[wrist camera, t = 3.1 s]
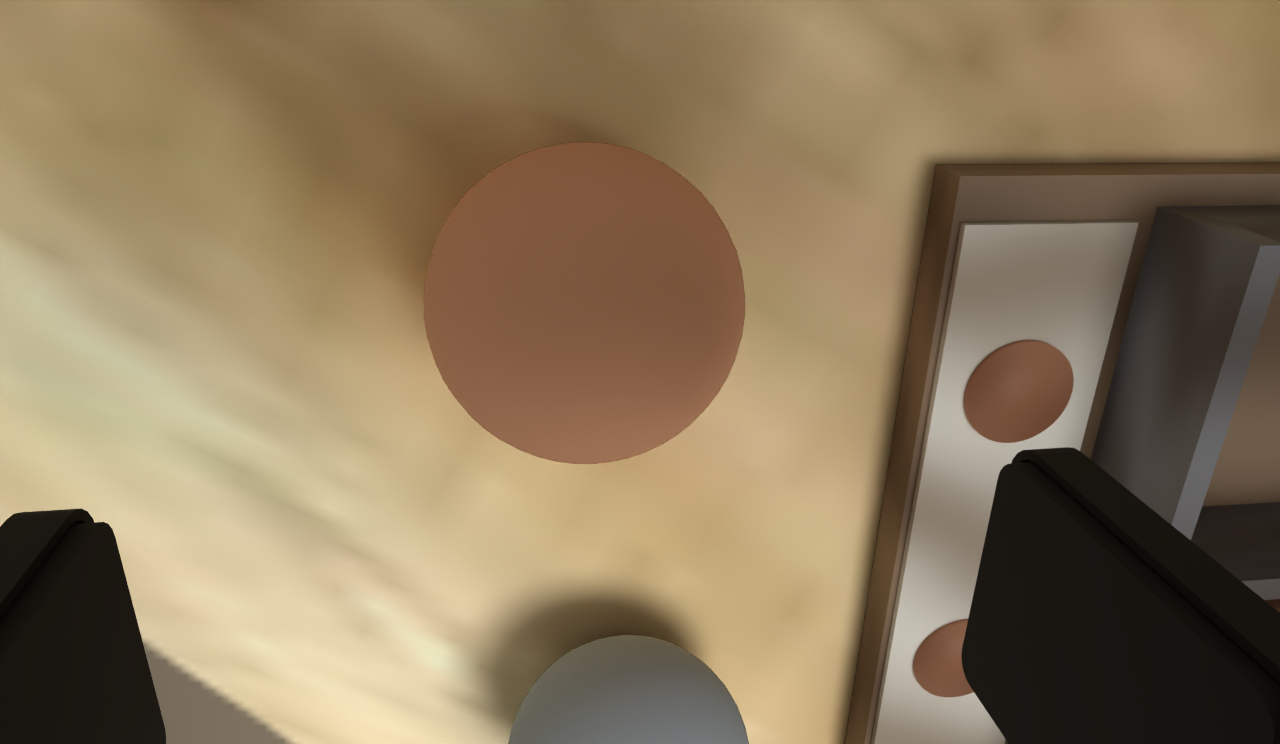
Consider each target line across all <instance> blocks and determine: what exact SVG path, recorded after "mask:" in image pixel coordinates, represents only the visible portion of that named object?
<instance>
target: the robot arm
mask: <svg viewBox="0 0 1280 744" xmlns="http://www.w3.org/2000/svg"><path fill="white" fill-rule="evenodd" d="M961 658H962V667H963V671H964V674H965V677H966V680H967V682H968V684H969V685H970V687H971V689H972V690H973V691H974V693H975V694H976V696H977V697H978V699H979V700H980V702H981V703H982V705H983V706H984V708H985V709H986V711H987V712H988V714H989V715H990V717H991V718H992V720H993V721H994V723H995V724H996V726H997V727H998V729H999V730H1000V732H1001V733H1002V735H1003V736H1004V737H1005V739H1006V740H1007V742H1008V743H1009V744H1280V612H1278V611H1277V610H1276V609H1275V608H1273V607H1272V606H1271V605H1270V604H1268V603H1267V602H1266V601H1265V600H1264V599H1262V598H1261V597H1260V596H1259V595H1257V594H1256V593H1255V592H1254V591H1252V590H1251V589H1250V588H1249V587H1247V586H1246V585H1245V584H1244V583H1243V582H1241V581H1240V580H1239V579H1238V578H1236V577H1235V576H1234V575H1233V574H1231V573H1230V572H1229V571H1228V570H1226V569H1225V568H1224V567H1223V566H1222V565H1220V564H1219V563H1218V562H1217V561H1215V560H1214V559H1213V558H1212V557H1210V556H1209V555H1208V554H1207V553H1205V552H1204V551H1203V550H1202V549H1201V548H1199V547H1198V546H1197V545H1196V544H1194V543H1193V542H1192V541H1191V540H1189V539H1188V538H1187V537H1186V536H1184V535H1183V534H1182V533H1181V532H1180V531H1178V530H1177V529H1176V528H1175V527H1173V526H1172V525H1171V524H1170V523H1168V522H1167V521H1166V520H1165V519H1163V518H1162V517H1161V516H1160V515H1159V514H1157V513H1156V512H1155V511H1154V510H1152V509H1151V508H1150V507H1149V506H1147V505H1146V504H1145V503H1144V502H1142V501H1141V500H1140V499H1139V498H1138V497H1136V496H1135V495H1134V494H1133V493H1131V492H1130V491H1129V490H1128V489H1126V488H1125V487H1124V486H1123V485H1121V484H1120V483H1119V482H1118V481H1117V480H1115V479H1114V478H1113V477H1112V476H1110V475H1109V474H1108V473H1107V472H1105V471H1104V470H1103V469H1102V468H1100V467H1099V466H1098V465H1097V464H1096V463H1094V462H1093V461H1092V460H1091V459H1089V458H1088V457H1087V456H1086V455H1084V454H1083V453H1082V452H1081V451H1079V450H1077V449H1075V448H1070V447H1064V448H1047V449H1031V450H1022V451H1020V452H1019V453H1017V454H1016V456H1015V457H1014V458H1013V460H1012V463H1011V464H1007V465H1005V466H1003V468H1002V469H1001V470H1000V473H999V476H998V480H997V484H996V489H995V494H994V499H993V504H992V508H991V513H990V518H989V523H988V527H987V532H986V537H985V542H984V546H983V551H982V556H981V561H980V565H979V570H978V575H977V580H976V584H975V589H974V594H973V599H972V604H971V608H970V613H969V618H968V623H967V627H966V632H965V637H964V642H963V646H962V654H961ZM0 744H166V733H165V727H164V723H163V719H162V715H161V711H160V707H159V703H158V700H157V696H156V692H155V688H154V685H153V681H152V677H151V673H150V669H149V665H148V661H147V658H146V654H145V650H144V646H143V642H142V638H141V634H140V631H139V627H138V623H137V619H136V615H135V612H134V608H133V604H132V600H131V596H130V592H129V589H128V585H127V581H126V577H125V573H124V569H123V566H122V562H121V558H120V554H119V550H118V546H117V543H116V539H115V535H114V533H113V530H112V528H111V527H110V526H109V524H107V523H105V522H98V523H94V520H93V518H92V517H91V516H90V514H89V513H88V512H87V511H85V510H83V509H69V510H53V511H37V512H21V513H16V514H13V515H12V516H11V517H9V518H8V519H7V520H6V521H5V522H4V523H3V524H2V526H1V527H0Z"/></svg>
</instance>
